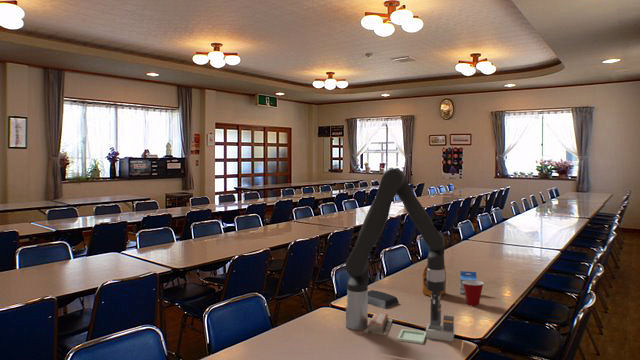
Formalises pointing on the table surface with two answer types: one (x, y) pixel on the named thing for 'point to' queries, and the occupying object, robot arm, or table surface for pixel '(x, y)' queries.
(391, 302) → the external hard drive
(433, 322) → the plug
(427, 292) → the coffee package
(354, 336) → the table surface
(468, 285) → the plastic cup
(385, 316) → the packaged product
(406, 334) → the tray
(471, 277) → the label tape box
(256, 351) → the table surface
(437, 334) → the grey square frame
